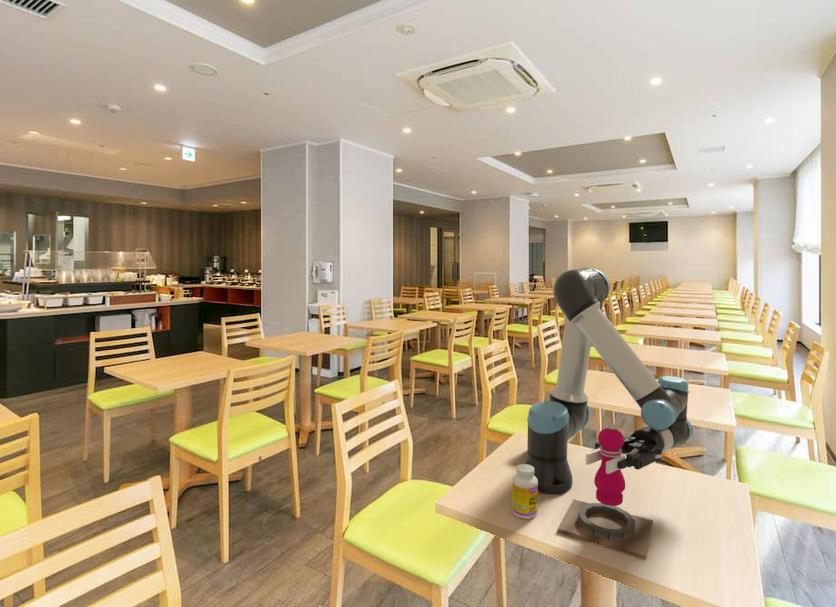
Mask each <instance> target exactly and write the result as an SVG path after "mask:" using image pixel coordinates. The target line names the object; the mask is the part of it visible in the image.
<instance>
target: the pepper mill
mask: <svg viewBox="0 0 836 607" xmlns="http://www.w3.org/2000/svg"><path fill="white" fill-rule="evenodd" d="M624 438H625V437H624V435H623V433H622V432H621V431H620V430H619V429H616V425H615V424H614V423H613V422H609V423H608V424H607V427H606V428H603V429H601V430H600V432H599V433H598V435H597V442H598V441H599V443H600V445H601V446H600V453H601V454H602V460H601V462H600V466H599V468H598V469H597V471H596V473H595V476H594V480H593V483H594V486H595V487H596V490H595V498H596V500H597V501H598V503H603V504H605V505H609V506H617V507H619V506H620V505H621V504H623V501H624V494H623V492H624V491H625V490H626V480H625V477H624V474H623V472H622V469H619V470H616V471H614V472H612V473H610V474H607V473H606V462H607V461H610V460H612V459H614V458H617V457H619V456H621V455H623V453H621V451H622V450H621V447H622V446H623V444H624Z"/></svg>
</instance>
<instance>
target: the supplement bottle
mask: <svg viewBox="0 0 836 607" xmlns="http://www.w3.org/2000/svg"><path fill="white" fill-rule="evenodd" d="M515 472H516V474H514V475H513V477H512V484H511V485H512V487H511V491H512V492H511V512H512V513H513V515H514V516H516V517H517V518H519V519H522V518H523V520H531V519H534V518H536V516H537V514H538V480H537V478H536V477H535V476H534V467H533V466H531V465H528V464H524V463H520V464H518V465H517V466H516V471H515Z"/></svg>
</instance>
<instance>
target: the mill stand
mask: <svg viewBox="0 0 836 607" xmlns="http://www.w3.org/2000/svg"><path fill="white" fill-rule="evenodd" d="M653 523H654V520H652V519H649V518H645V517H641V516H638V515H633V514H631V513H629V512H628V511H626V510H624V509H622V508H621V507H619V506H609V505H605V504H603V503H601V502H590V503H589V502H586V501H583V500H577V499H575V498H574V499H572V500H571V503H570V505H569V507H568V509H567V510H566V512H565V514H564V516H563V518H562V520H561V522H560V524H559V525H558V527H557V533H559V534H561V535H562V534H563V535H565V536H568V535H569V536H570V537H571V538H576V539H578V540H582V541H585V542H589V543H591V542H593V543H592V544H594V543H596V544H595V545H597V544H599V545H598V546H601V545H603V546H602V547H604V546H605V548H607V547H608V549H610V548H611V550H614V549H615V550H614V551H617V550H618V551H617V552H620V551H622V552H621V553H623V552H624V554H627V553H628V554H627V555H629V556H630V555H631V556H633V555H634V557H637V558H640V559H644V560H646V557H647V553H648V548H649V544H650V538H651V534H652V531H653V530H652V529H653V526H654V525H653ZM569 536H568V537H569Z"/></svg>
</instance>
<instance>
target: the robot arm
mask: <svg viewBox="0 0 836 607" xmlns="http://www.w3.org/2000/svg"><path fill="white" fill-rule="evenodd" d="M610 289H611V284H610V282H609V279H608V277H607V276H606V274H604V272H602V271H600V270H598V269H595V268H591V267H582V268H578V269H577V268H576V269H569V270H566V271H564V272H563V273H561V274H560V275H559V276H558V277H557V278H556V280H555V282H554V284H553V297H554V300H555V301H556V304H557V306H558V307H559V309H560V310H561V312H562V314H564V316H565V322H564V327H563V328H564V329H563V335H562V336H563V337H562V344H561V350H560V356H559V357H560V358H559V363H558V371H557V378H556V386H554V387H553V388H551V390H550V391H549V399H548V401H543V402H541V401H540V402H536V403H534V404H532V406H531V407H530V408H529V409H528V412H527V413H528V414H527V415H528V416H527V418H526V419H527V449H526V450H527V451H526V452H527V455H526V457H525V460H524V463H523V464H528V465H531V466H533V467H534V476H535V477H536V478H537V480H538V492H539V493H543V494H562V493H566V492H568V491H569V490H571V489H572V487H573V475H572V474H573V473H572V471H571V467H570V464H569V462H568V441H569V440H570V439H571V438H572V437H574V436H575V435H576V434H577V433H579V432H581V431H582V430H583V429H584V428H585V427H586V425H587V424H588V422H589V420H590V416H591V413H590V408H589V405H588V401H589V398H588V395H587V394H586V393H585V388H586V381H587V373H588V367H589V361H590V354H591V349H592V346H593V347H594V349H595V351H596V352H597V353H598V354H599V355H600V357H601V359H603V361H604V362H605V364H606V365H607V366H608V367H609V369H610V370H611V371H612V373H613V374H614V375H615V376H616V378H617V379H618V381H619V382H620V383H621V385H623V387H624V388H625V389H626V391H627V392H628V393H629V395H630V396H631V397H632V398H633V400H634V401H635V403H636V404H637V405H638V407H639V408H640V416H641V417H640V418H641V420H642V422H643V423H644V424H645V425H646V426H644V427H642V428H638V429H635V431H634V432H632V434H631V435H630V436H626V437H624V444H623V446H622V447H621V450H622V451H621V454H622V455H621V456H619V457H617V458H614V459H612V460H610V461H607V462H606V473H607V474H610V473H612V472H614V471H616V470H619V469H621V470H623V469H626V468H632V467H634V469H635V470H641V469H642V468H645V467H648V466H649V465H651V464H653V463H655V462H656V463H657V462H662V458H663V457H662V456H663V454H662V453H665V452H666V451H670V450H671V449H673V448H676V447H679V446H682V445H684V444H685V443H686V442H687V441H689V440H691V438H692V437H693V435H694V427H693V425H692V424H691V422H690V420H689V419H688V416H687V415H688V401H689V393H690V392H689V383H688V380H687V379H685V378H682V377H678V376H671V375H667V376H660V377H658V380H657V379H656V378H655V377H654V375H653V374H652V373H651V371H650V370H649V369H648V368H647V366H646V365H645V364H644V362H643V361H642V360H641V358H639V356H638V355H637V354H636V352H635V351H634V350H633V348H632V347H631V346H630V345H629V343H627V341H626V340H625V339H624V337H623V336H622V335H621V333H620V332H619V330H618V329H617V328H616V327H615V326H614V325H613V323H612V322H611V321H610V320H609V319H608V317H607V316H606V314H605V313H604V312H603V306H604V302H605V301H606V300H607V298H608V296H609V294H610V291H611V290H610ZM600 446H601V445H600V443H599V441H598V440H597V441H596V442H595V443H594V448H593V449H592V450H591V451H589V452H586V453H585V465H587V466H590V465H591V464H594V463H596V462H599V461H602V454H601V453H600Z"/></svg>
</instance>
